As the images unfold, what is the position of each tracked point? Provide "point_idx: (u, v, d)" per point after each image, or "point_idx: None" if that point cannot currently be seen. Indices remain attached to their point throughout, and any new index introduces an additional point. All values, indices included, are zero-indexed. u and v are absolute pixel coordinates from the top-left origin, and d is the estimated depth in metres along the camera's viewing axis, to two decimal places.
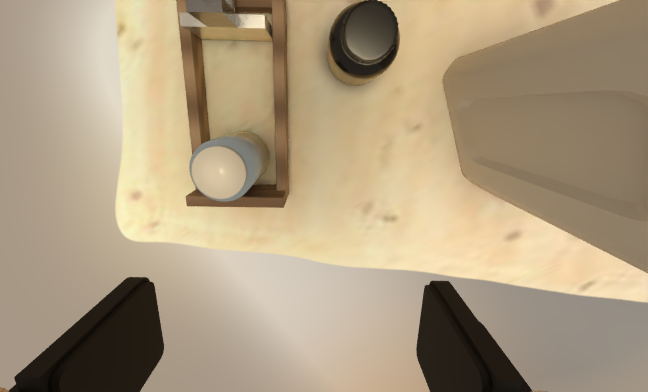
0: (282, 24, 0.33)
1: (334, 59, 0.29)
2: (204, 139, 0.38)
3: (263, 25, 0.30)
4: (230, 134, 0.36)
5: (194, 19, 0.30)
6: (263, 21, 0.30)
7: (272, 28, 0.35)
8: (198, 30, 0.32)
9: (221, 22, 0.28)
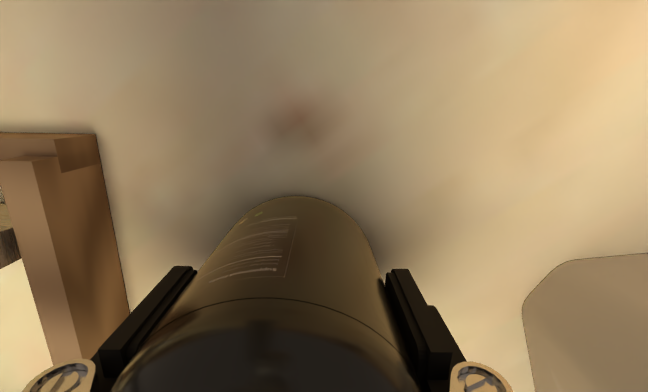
0: (46, 233, 0.10)
1: None
2: None
3: None
4: None
5: None
6: None
7: None
8: None
9: None
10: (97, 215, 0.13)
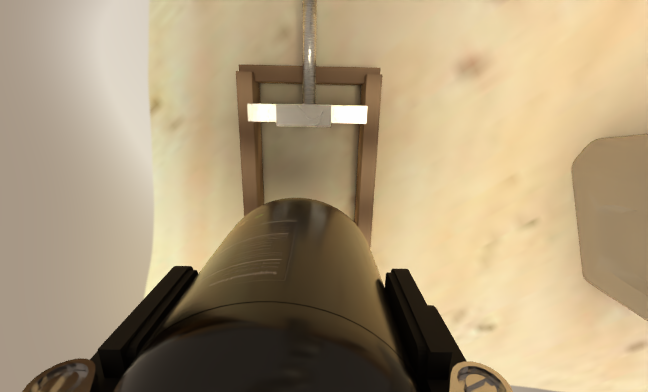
0: (378, 107, 0.24)
1: None
2: None
3: (364, 120, 0.21)
4: None
5: (268, 112, 0.21)
6: (365, 114, 0.21)
7: None
8: None
9: None
10: None
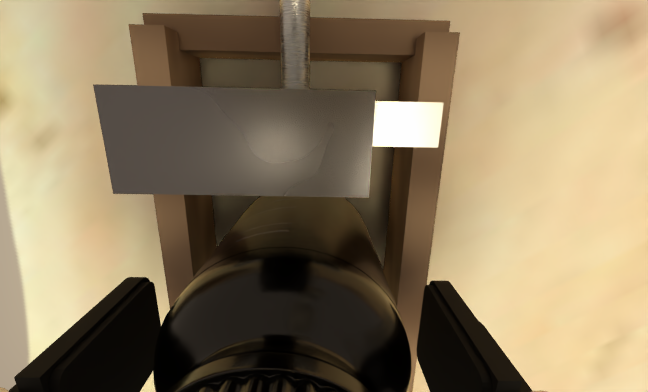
0: (447, 106, 0.11)
1: None
2: None
3: (434, 138, 0.08)
4: None
5: None
6: (436, 125, 0.08)
7: None
8: None
9: None
10: None
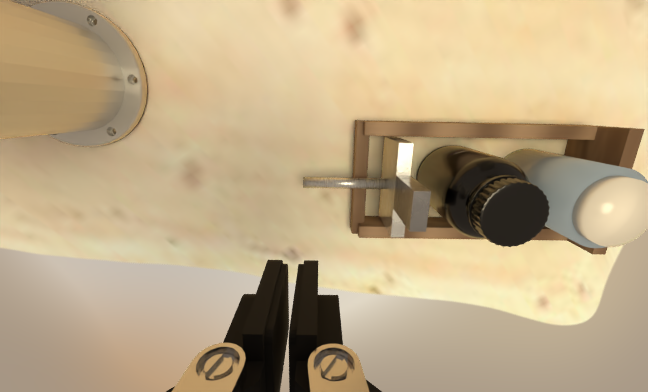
0: (392, 123, 0.27)
1: None
2: None
3: (410, 145, 0.25)
4: None
5: (398, 222, 0.27)
6: (406, 144, 0.25)
7: (387, 137, 0.30)
8: None
9: None
10: (389, 121, 0.30)
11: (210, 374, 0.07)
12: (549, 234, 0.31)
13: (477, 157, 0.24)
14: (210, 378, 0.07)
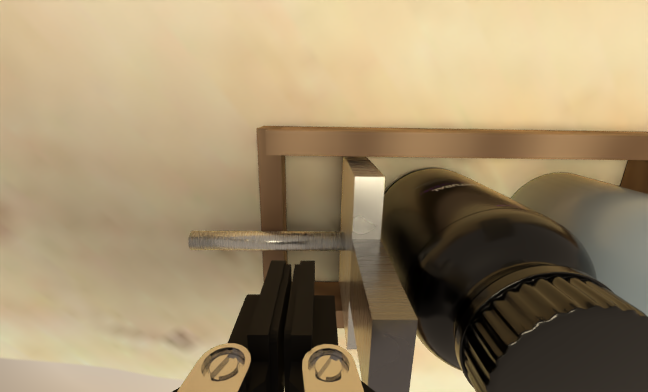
0: (316, 133, 0.15)
1: None
2: None
3: (378, 180, 0.12)
4: None
5: None
6: (369, 179, 0.12)
7: (345, 156, 0.17)
8: None
9: None
10: (320, 127, 0.17)
11: (215, 374, 0.07)
12: None
13: (477, 208, 0.11)
14: (215, 379, 0.07)
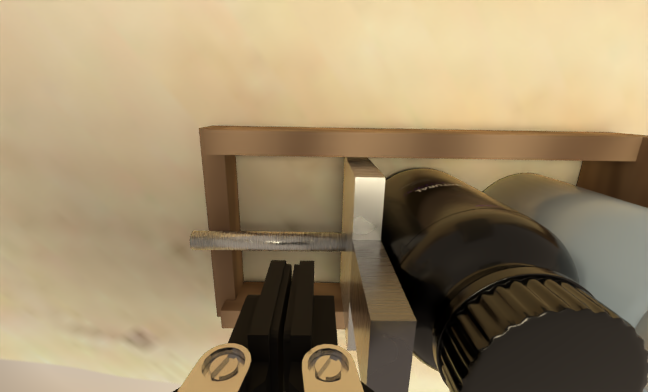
0: (255, 133, 0.15)
1: None
2: None
3: (379, 181, 0.12)
4: None
5: None
6: (370, 180, 0.12)
7: None
8: None
9: None
10: (266, 127, 0.17)
11: (216, 375, 0.07)
12: None
13: (457, 209, 0.11)
14: (216, 379, 0.07)
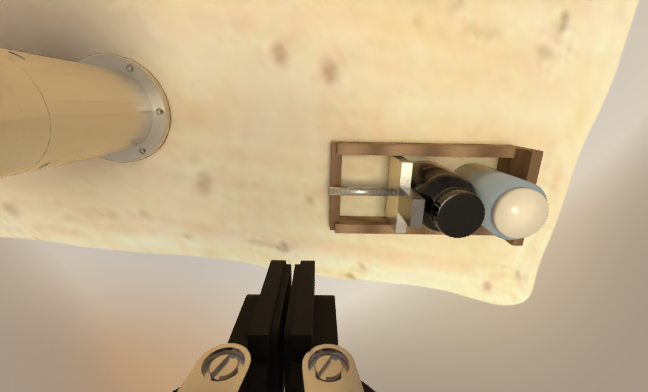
0: (358, 145, 0.36)
1: None
2: None
3: (410, 164, 0.33)
4: None
5: (401, 221, 0.35)
6: (407, 163, 0.33)
7: (392, 155, 0.38)
8: None
9: None
10: (357, 142, 0.38)
11: (215, 374, 0.07)
12: (484, 230, 0.39)
13: (437, 173, 0.32)
14: (215, 379, 0.07)
